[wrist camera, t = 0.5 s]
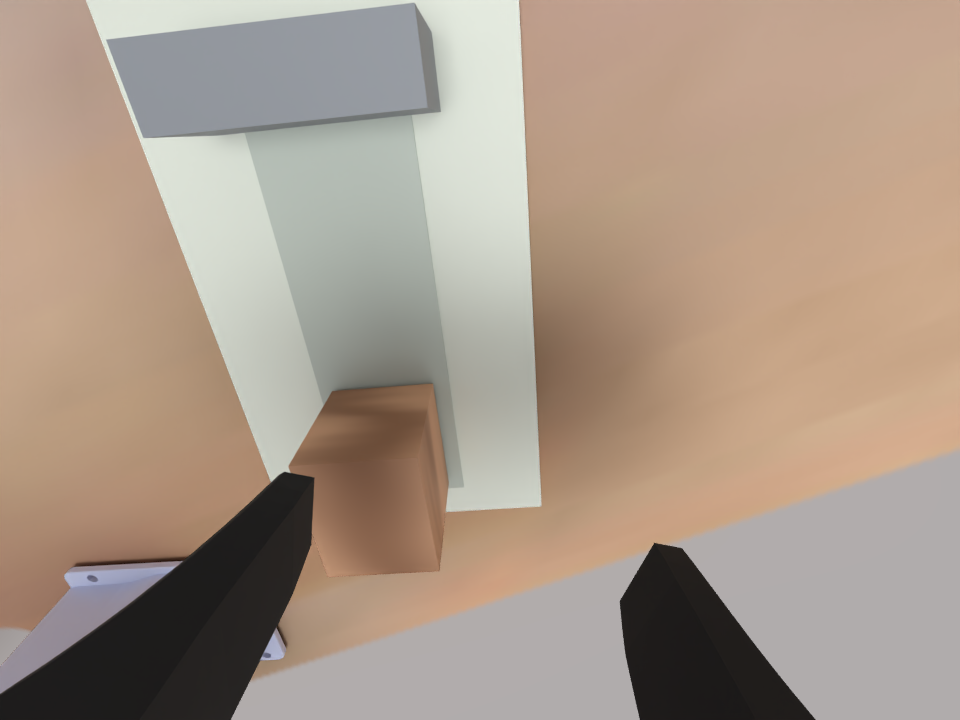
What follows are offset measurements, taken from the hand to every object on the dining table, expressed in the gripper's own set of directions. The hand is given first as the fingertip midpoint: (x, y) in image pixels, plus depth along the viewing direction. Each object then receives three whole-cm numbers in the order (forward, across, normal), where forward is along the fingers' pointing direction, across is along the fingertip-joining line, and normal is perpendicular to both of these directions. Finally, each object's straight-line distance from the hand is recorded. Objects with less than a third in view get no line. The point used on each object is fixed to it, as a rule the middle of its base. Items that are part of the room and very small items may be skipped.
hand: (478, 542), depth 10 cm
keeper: (+9, +3, +5) cm, 11 cm away
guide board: (+9, +5, -1) cm, 11 cm away
